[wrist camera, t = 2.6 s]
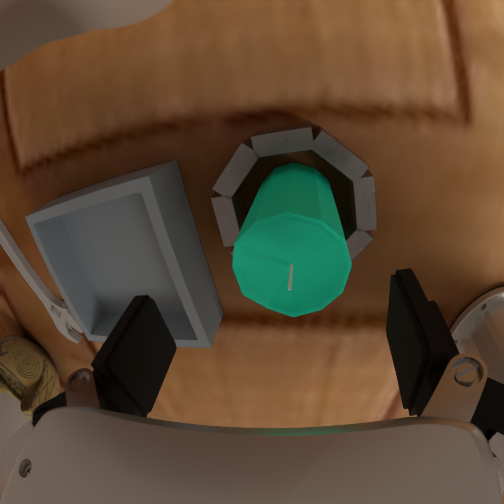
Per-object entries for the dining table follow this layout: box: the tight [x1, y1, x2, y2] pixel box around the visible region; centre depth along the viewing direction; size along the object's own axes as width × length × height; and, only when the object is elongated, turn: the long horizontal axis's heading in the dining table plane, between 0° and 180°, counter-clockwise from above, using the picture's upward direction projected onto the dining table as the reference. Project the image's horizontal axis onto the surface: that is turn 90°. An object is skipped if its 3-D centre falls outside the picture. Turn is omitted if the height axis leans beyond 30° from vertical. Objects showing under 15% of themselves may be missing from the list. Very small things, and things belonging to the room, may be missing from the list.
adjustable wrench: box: [0, 219, 83, 343], centre depth 33 cm, size 25×6×2 cm, turn 29°
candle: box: [232, 162, 352, 317], centre depth 18 cm, size 6×6×12 cm
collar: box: [211, 124, 377, 262], centre depth 22 cm, size 12×12×3 cm
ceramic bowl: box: [0, 335, 60, 420], centre depth 39 cm, size 22×17×15 cm
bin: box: [25, 160, 224, 348], centre depth 26 cm, size 16×16×5 cm
